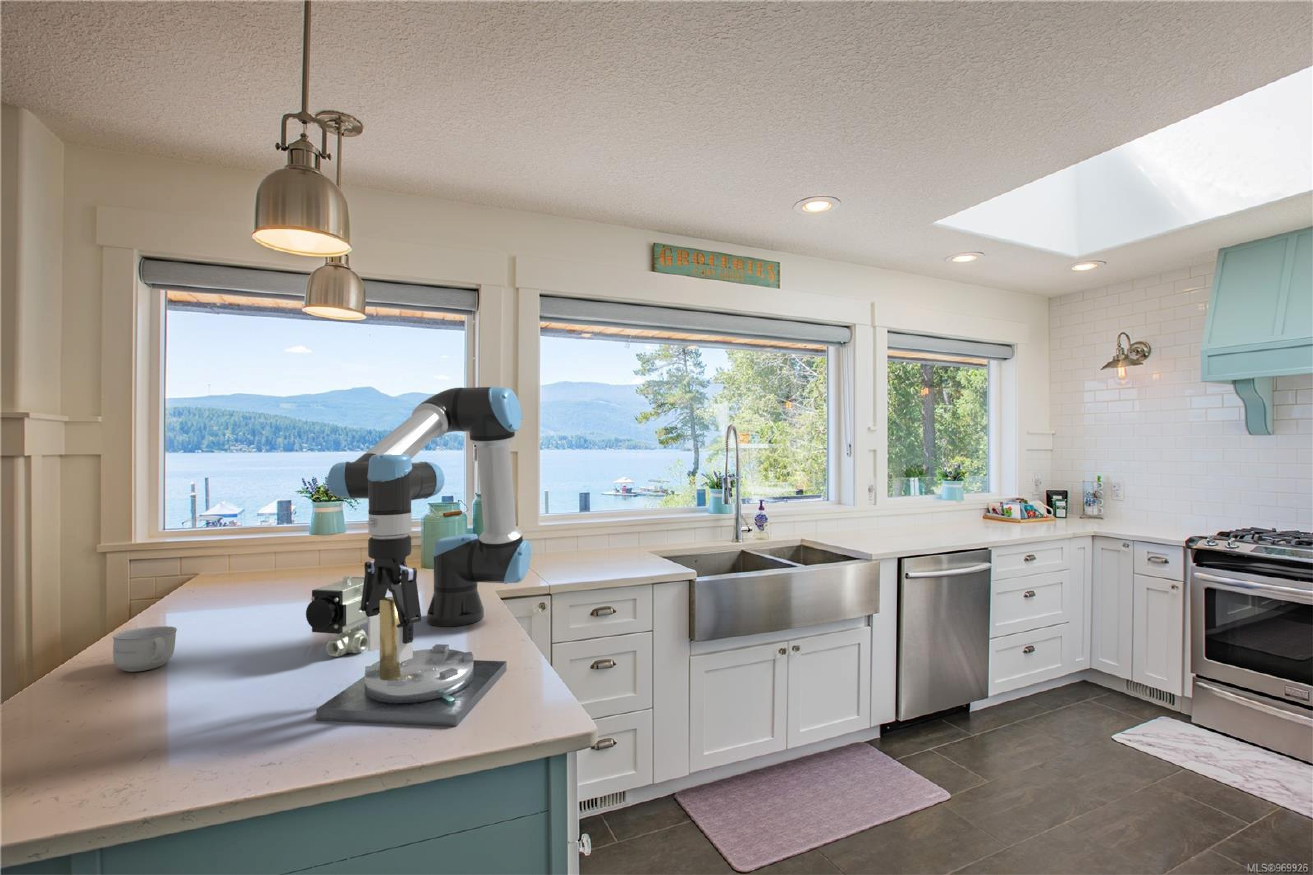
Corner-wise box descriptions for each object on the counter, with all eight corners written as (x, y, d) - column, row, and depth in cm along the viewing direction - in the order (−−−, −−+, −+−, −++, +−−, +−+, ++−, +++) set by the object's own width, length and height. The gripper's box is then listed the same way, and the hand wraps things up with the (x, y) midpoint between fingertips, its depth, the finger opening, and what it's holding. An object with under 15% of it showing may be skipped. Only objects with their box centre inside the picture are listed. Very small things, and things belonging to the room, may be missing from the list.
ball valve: (337, 667, 135) (337, 586, 136) (304, 664, 137) (304, 584, 137) (389, 640, 153) (388, 569, 153) (358, 638, 155) (358, 568, 155)
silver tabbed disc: (398, 661, 133) (398, 579, 133) (488, 664, 131) (488, 581, 131) (342, 700, 113) (342, 604, 113) (447, 705, 111) (447, 606, 111)
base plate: (392, 666, 136) (392, 654, 136) (506, 670, 133) (506, 658, 133) (316, 720, 110) (316, 705, 110) (456, 726, 108) (456, 711, 108)
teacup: (109, 667, 136) (109, 631, 136) (171, 655, 143) (171, 620, 143) (118, 684, 126) (118, 645, 126) (184, 670, 134) (184, 633, 134)
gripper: (340, 533, 120) (340, 648, 120) (405, 544, 107) (405, 673, 107) (377, 528, 126) (377, 638, 126) (442, 538, 113) (442, 660, 113)
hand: (390, 654), depth 116 cm, fingers open, 9 cm apart
